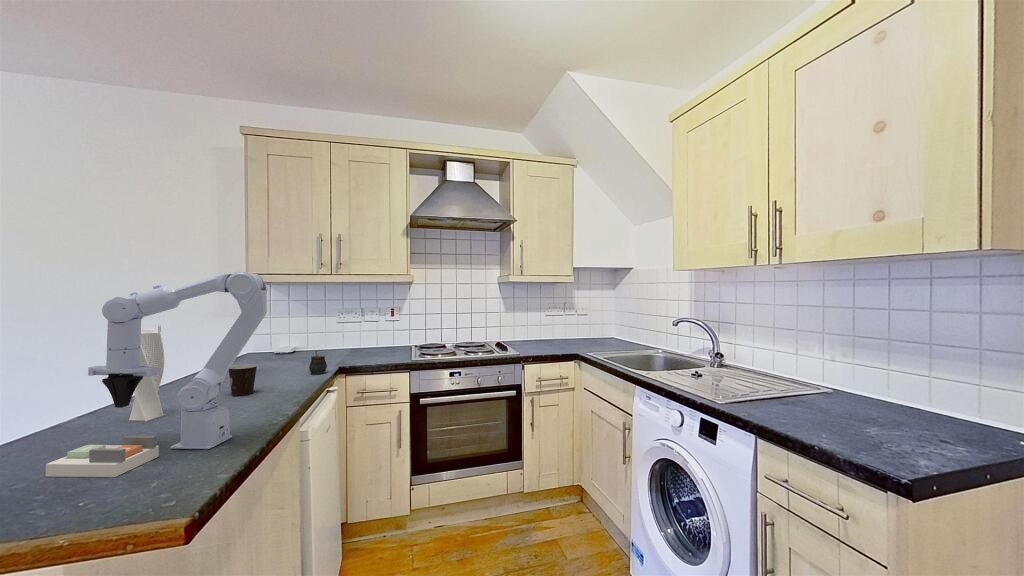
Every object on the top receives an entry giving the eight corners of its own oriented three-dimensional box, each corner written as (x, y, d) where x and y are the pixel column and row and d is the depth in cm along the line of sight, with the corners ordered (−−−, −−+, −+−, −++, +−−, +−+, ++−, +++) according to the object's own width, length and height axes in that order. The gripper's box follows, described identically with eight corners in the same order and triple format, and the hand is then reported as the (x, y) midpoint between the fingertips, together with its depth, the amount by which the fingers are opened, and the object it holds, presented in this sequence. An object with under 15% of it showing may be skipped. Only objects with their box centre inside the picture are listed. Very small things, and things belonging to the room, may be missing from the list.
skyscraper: (173, 415, 121) (175, 322, 122) (146, 424, 113) (148, 325, 114) (148, 414, 122) (149, 322, 122) (120, 422, 114) (121, 324, 114)
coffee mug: (232, 392, 148) (232, 365, 148) (259, 390, 151) (259, 363, 151) (221, 400, 137) (222, 371, 137) (251, 398, 140) (251, 369, 140)
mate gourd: (313, 376, 177) (313, 353, 177) (305, 374, 181) (305, 351, 181) (329, 373, 182) (329, 351, 182) (321, 371, 187) (321, 350, 187)
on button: (105, 459, 88) (105, 444, 88) (86, 468, 84) (86, 451, 84) (87, 459, 88) (87, 444, 88) (67, 467, 84) (67, 451, 84)
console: (159, 456, 91) (159, 434, 91) (116, 477, 81) (116, 452, 81) (96, 456, 91) (97, 433, 91) (45, 476, 81) (46, 451, 81)
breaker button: (142, 460, 88) (142, 444, 88) (124, 468, 84) (124, 452, 84) (123, 460, 88) (124, 444, 88) (105, 468, 84) (105, 452, 84)
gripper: (169, 346, 98) (167, 402, 98) (110, 345, 98) (108, 401, 98) (143, 350, 91) (141, 410, 91) (79, 349, 91) (77, 409, 91)
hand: (122, 406), depth 94 cm, fingers closed
